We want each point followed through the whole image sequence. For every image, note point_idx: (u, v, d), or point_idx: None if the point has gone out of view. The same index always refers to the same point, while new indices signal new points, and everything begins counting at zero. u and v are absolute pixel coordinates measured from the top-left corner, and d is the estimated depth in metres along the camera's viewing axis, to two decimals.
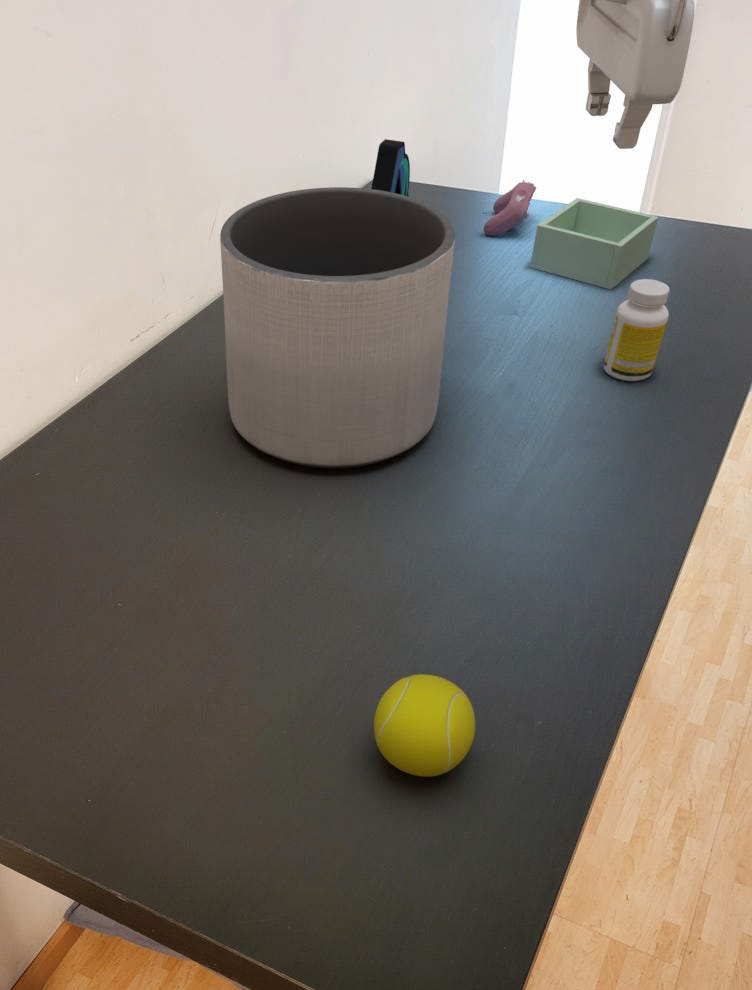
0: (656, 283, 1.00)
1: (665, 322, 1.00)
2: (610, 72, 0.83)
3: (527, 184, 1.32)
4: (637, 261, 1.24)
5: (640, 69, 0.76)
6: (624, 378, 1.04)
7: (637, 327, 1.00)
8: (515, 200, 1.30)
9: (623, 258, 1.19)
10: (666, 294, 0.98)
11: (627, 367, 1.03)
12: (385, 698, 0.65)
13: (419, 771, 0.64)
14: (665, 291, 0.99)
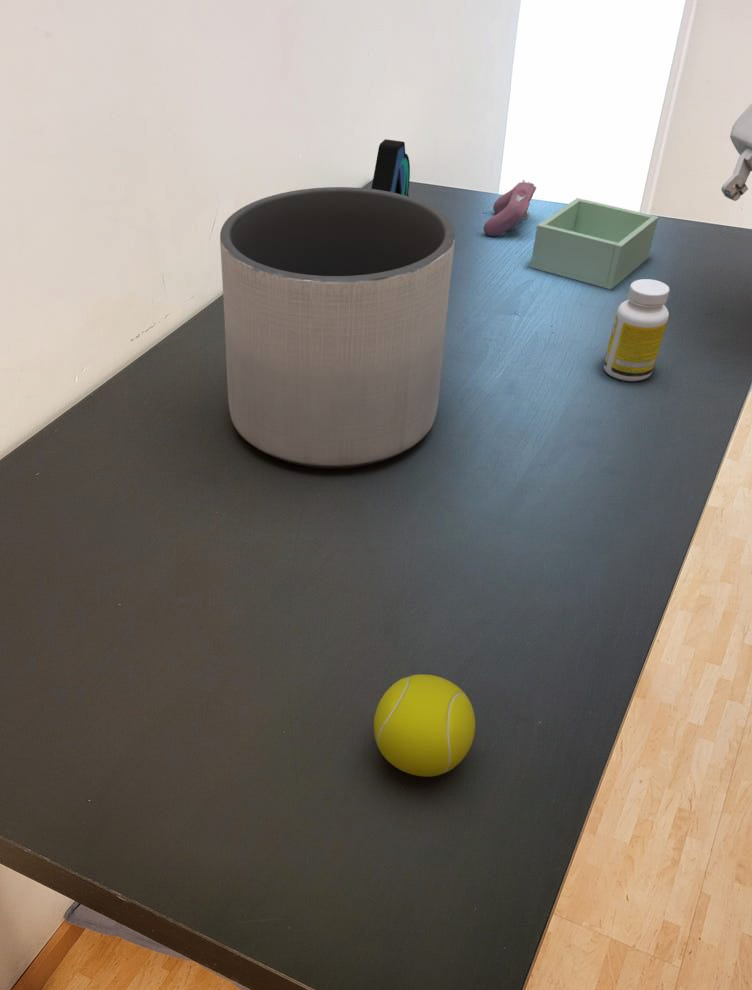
0: (656, 283, 1.00)
1: (665, 322, 1.00)
2: None
3: (527, 184, 1.32)
4: (637, 261, 1.24)
5: None
6: (624, 378, 1.04)
7: (637, 327, 1.00)
8: (515, 200, 1.30)
9: (623, 258, 1.19)
10: (666, 294, 0.98)
11: (627, 367, 1.03)
12: (385, 698, 0.65)
13: (419, 771, 0.64)
14: (665, 291, 0.99)
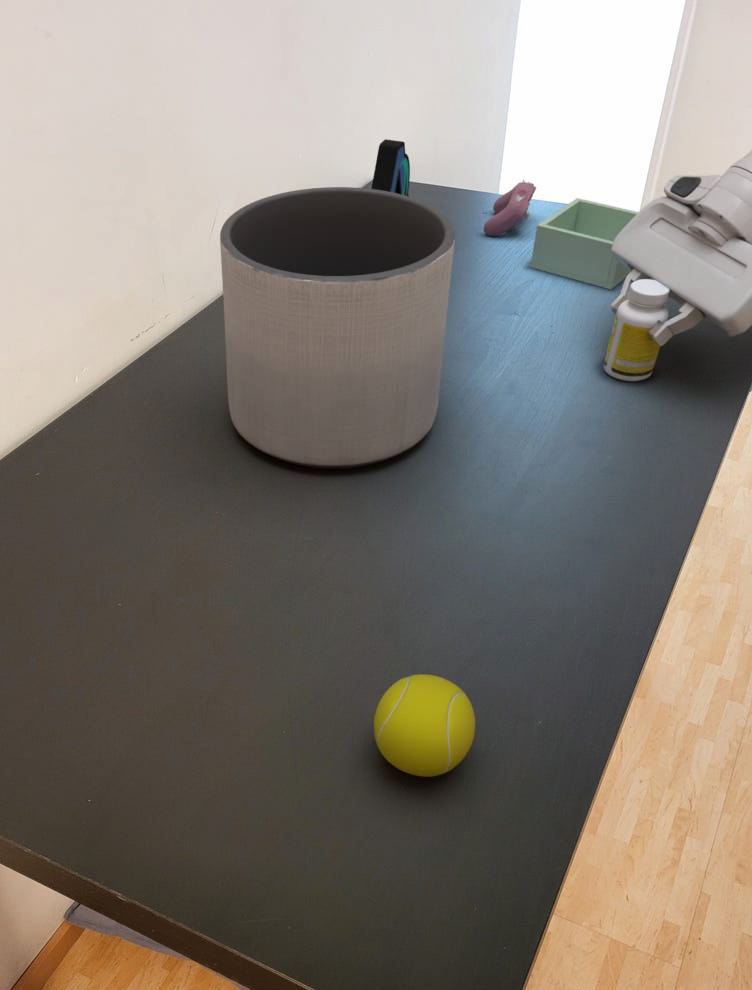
0: (656, 283, 1.00)
1: None
2: (680, 286, 0.98)
3: (527, 184, 1.32)
4: None
5: (742, 299, 0.92)
6: (624, 378, 1.04)
7: (637, 327, 1.00)
8: (515, 200, 1.30)
9: None
10: (666, 294, 0.98)
11: (627, 367, 1.03)
12: (385, 698, 0.65)
13: (419, 771, 0.64)
14: (665, 291, 0.98)
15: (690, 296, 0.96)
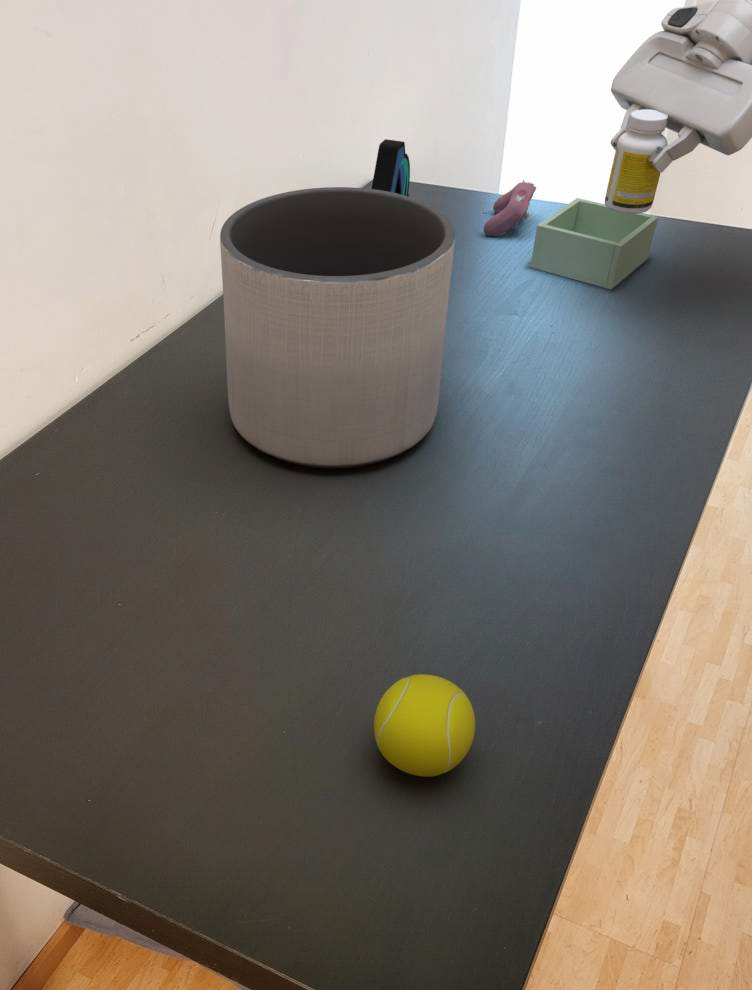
0: (655, 112, 1.03)
1: None
2: (679, 110, 1.01)
3: (527, 184, 1.32)
4: (637, 261, 1.24)
5: (739, 113, 0.96)
6: (625, 211, 1.08)
7: (637, 154, 1.03)
8: (515, 200, 1.30)
9: (623, 258, 1.19)
10: (665, 120, 1.02)
11: (627, 198, 1.07)
12: (385, 698, 0.65)
13: (419, 771, 0.64)
14: (664, 117, 1.02)
15: (688, 118, 1.00)
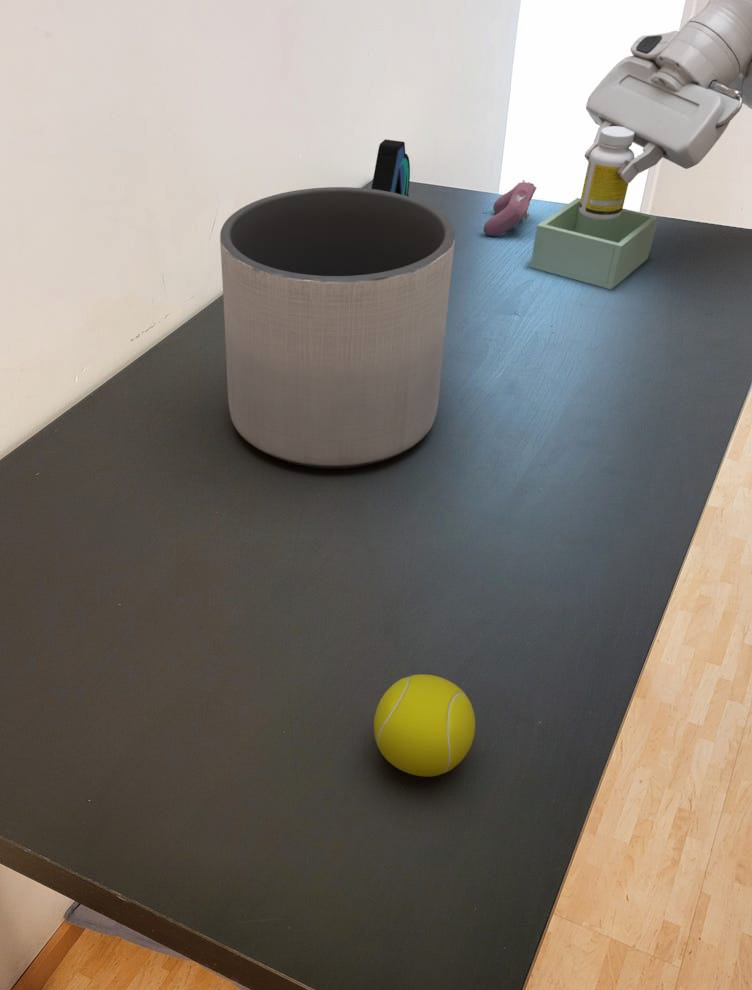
0: (623, 128, 1.15)
1: None
2: (644, 128, 1.13)
3: (527, 184, 1.32)
4: (637, 261, 1.24)
5: (695, 131, 1.08)
6: (596, 217, 1.20)
7: (607, 167, 1.16)
8: (515, 200, 1.30)
9: (623, 258, 1.19)
10: (631, 136, 1.14)
11: (599, 206, 1.19)
12: (385, 698, 0.65)
13: (419, 771, 0.64)
14: (631, 133, 1.14)
15: (652, 135, 1.12)
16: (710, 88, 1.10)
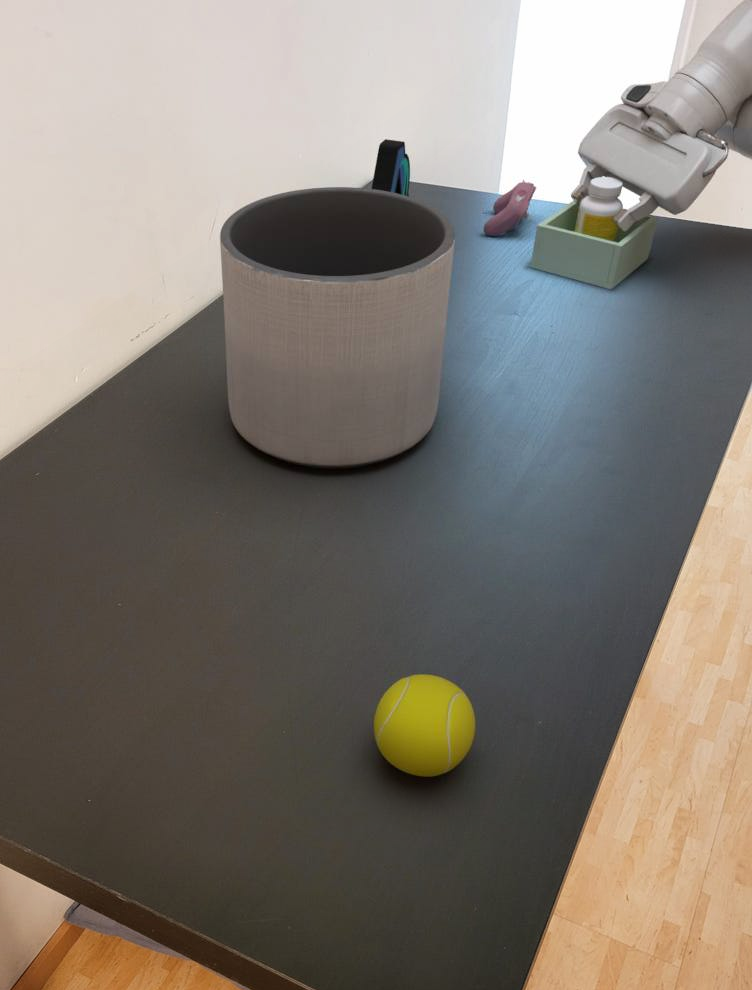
0: (612, 179, 1.20)
1: None
2: (633, 175, 1.17)
3: (527, 184, 1.32)
4: (637, 261, 1.24)
5: (682, 180, 1.12)
6: None
7: (596, 216, 1.20)
8: (515, 200, 1.30)
9: (623, 258, 1.19)
10: (620, 187, 1.18)
11: None
12: (385, 698, 0.65)
13: (419, 771, 0.64)
14: (619, 184, 1.18)
15: (641, 182, 1.16)
16: (697, 137, 1.14)
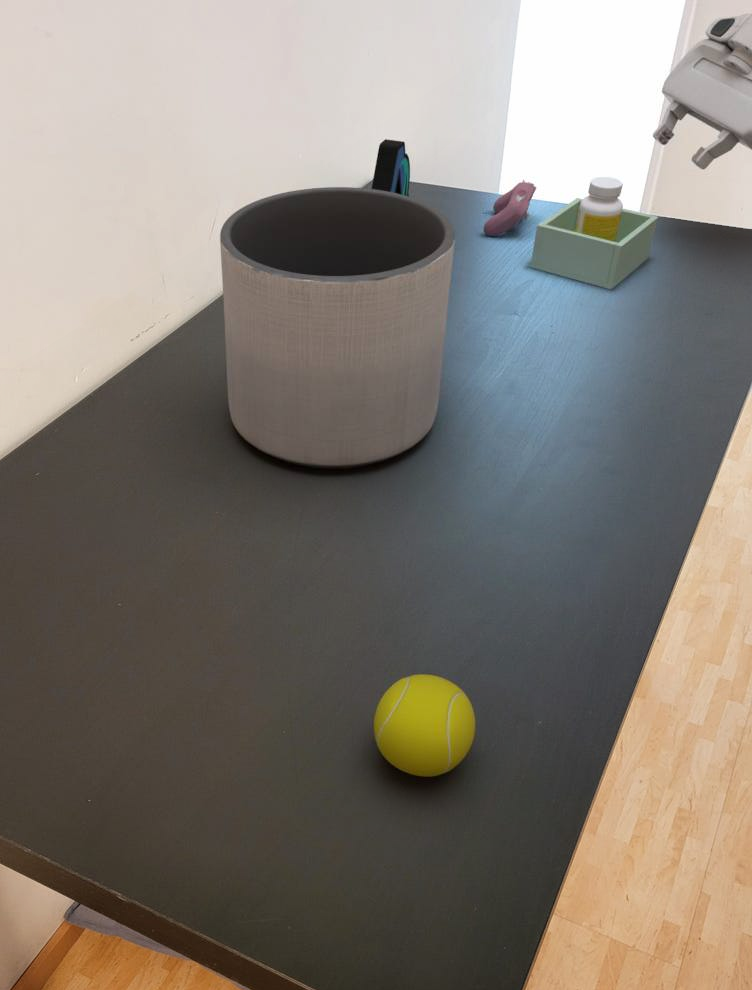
0: (612, 179, 1.20)
1: (619, 212, 1.20)
2: (713, 112, 1.17)
3: (527, 184, 1.32)
4: (637, 261, 1.24)
5: None
6: None
7: (596, 216, 1.20)
8: (515, 200, 1.30)
9: (623, 258, 1.19)
10: (620, 187, 1.18)
11: None
12: (385, 698, 0.65)
13: (419, 771, 0.64)
14: (619, 184, 1.18)
15: (720, 119, 1.16)
16: None
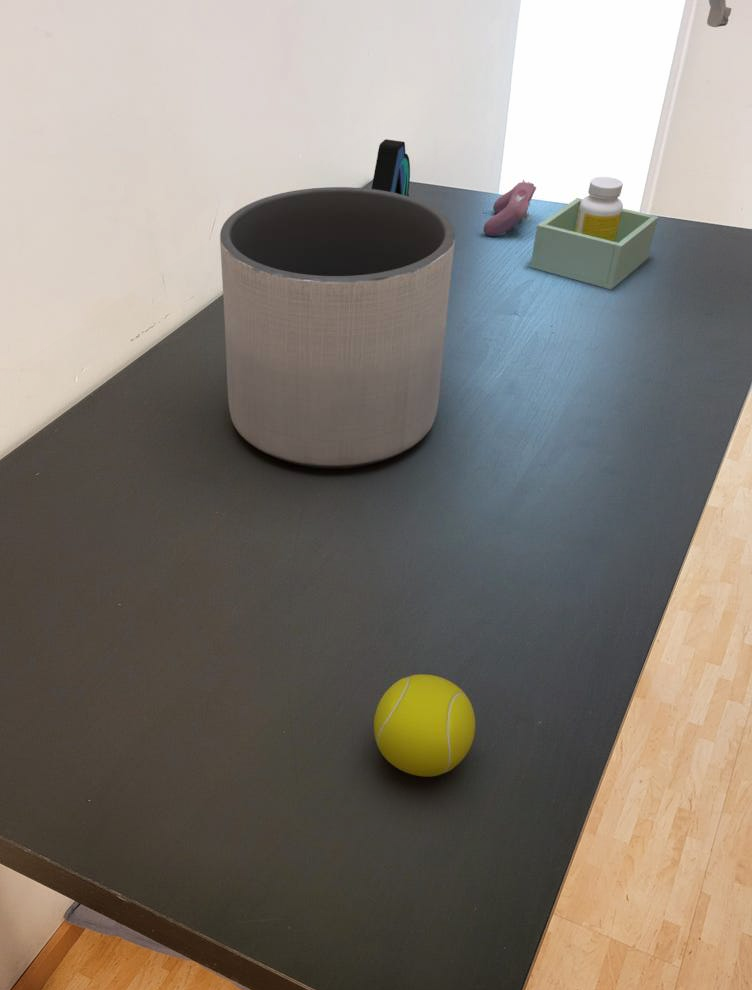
0: (612, 179, 1.20)
1: (619, 212, 1.20)
2: None
3: (527, 184, 1.32)
4: (637, 261, 1.24)
5: None
6: None
7: (596, 216, 1.20)
8: (515, 200, 1.30)
9: (623, 258, 1.19)
10: (620, 187, 1.18)
11: None
12: (385, 698, 0.65)
13: (419, 771, 0.64)
14: (619, 184, 1.18)
15: None
16: None
